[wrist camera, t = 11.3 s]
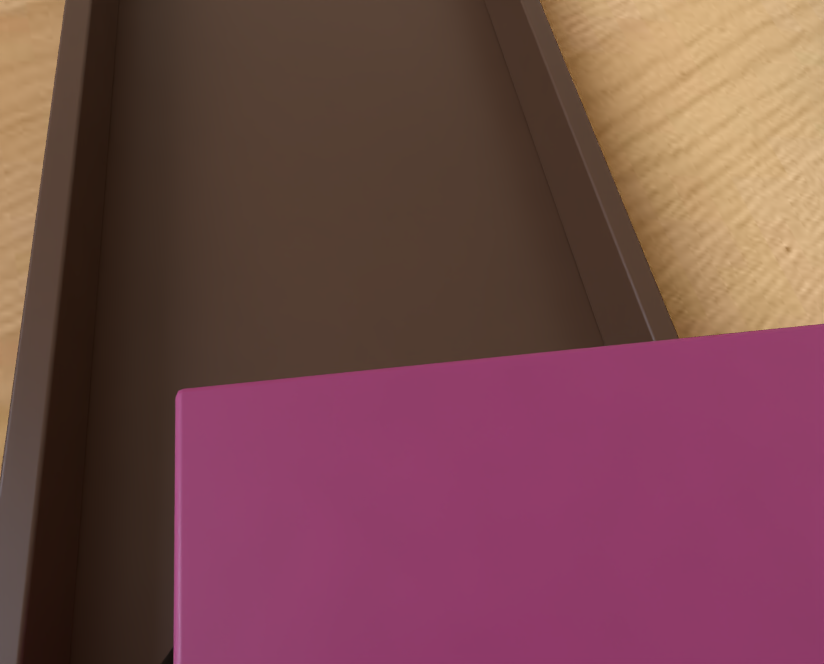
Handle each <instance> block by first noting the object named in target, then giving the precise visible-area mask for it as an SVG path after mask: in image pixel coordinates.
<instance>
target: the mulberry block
mask: <svg viewBox="0 0 824 664" xmlns="http://www.w3.org/2000/svg"><path fill="white" fill-rule="evenodd" d="M173 664H824V324H818V325H808V326H798V327H788V328H778V329H768V330H759V331H749V332H739V333H729V334H719V335H709V336H699V337H690V338H680V339H670V340H660V341H650V342H640V343H630V344H621V345H611V346H601V347H591V348H581V349H571V350H561V351H552V352H542V353H532V354H522V355H512V356H502V357H492V358H483V359H473V360H463V361H453V362H443V363H433V364H423V365H414V366H404V367H394V368H384V369H374V370H364V371H354V372H345V373H335V374H325V375H315V376H305V377H295V378H285V379H276V380H266V381H256V382H246V383H236V384H226V385H216V386H206V387H197V388H187V389H182V390H179V391H178V393H177V395H176V398H175V515H174V649H173Z"/></svg>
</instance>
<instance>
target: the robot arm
mask: <svg viewBox="0 0 824 664" xmlns="http://www.w3.org/2000/svg"><path fill="white" fill-rule="evenodd" d="M173 649H174V646H173V647H172V649H171V650H170V652H169V653H168V655H167V656H166V657H165V659H164V660H163V662H162V663H161V664H173Z"/></svg>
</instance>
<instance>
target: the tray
mask: <svg viewBox="0 0 824 664" xmlns="http://www.w3.org/2000/svg"><path fill="white" fill-rule="evenodd" d="M670 339H679V338H678V335H677V333H676V330H675V328H674V326H673V323H672V321H671V318H670V316H669V313H668V311H667V309H666V306H665V304H664V301H663V299H662V296H661V294H660V292H659V289H658V287H657V284H656V282H655V279H654V277H653V275H652V272H651V270H650V267H649V265H648V262H647V260H646V258H645V255H644V253H643V250H642V248H641V246H640V243H639V241H638V238H637V236H636V233H635V231H634V229H633V226H632V224H631V221H630V219H629V216H628V214H627V212H626V209H625V207H624V204H623V202H622V199H621V197H620V195H619V192H618V190H617V187H616V185H615V182H614V180H613V178H612V175H611V173H610V170H609V168H608V166H607V163H606V161H605V158H604V156H603V153H602V151H601V149H600V146H599V144H598V141H597V139H596V136H595V134H594V132H593V129H592V127H591V124H590V122H589V119H588V117H587V115H586V112H585V110H584V107H583V105H582V102H581V100H580V98H579V95H578V93H577V90H576V88H575V86H574V83H573V81H572V78H571V76H570V73H569V71H568V69H567V66H566V64H565V61H564V59H563V56H562V54H561V52H560V49H559V47H558V44H557V42H556V39H555V37H554V35H553V32H552V30H551V27H550V25H549V22H548V20H547V18H546V15H545V13H544V10H543V8H542V6H541V3H540V1H539V0H66V1H65V8H64V15H63V23H62V30H61V37H60V45H59V52H58V59H57V67H56V74H55V81H54V89H53V96H52V103H51V111H50V118H49V125H48V133H47V140H46V147H45V155H44V162H43V169H42V177H41V184H40V191H39V199H38V206H37V213H36V220H35V228H34V235H33V242H32V250H31V257H30V264H29V272H28V279H27V286H26V294H25V301H24V308H23V316H22V323H21V330H20V338H19V345H18V352H17V360H16V367H15V374H14V382H13V389H12V396H11V404H10V411H9V418H8V426H7V433H6V440H5V448H4V455H3V462H2V470H1V477H0V664H161V663H162V662H163V660H164V659H165V657H166V656H167V655H168V653H169V652H170V650H171V649H172V647H173V646H174V515H175V398H176V395H177V393H178V391H179V390H182V389H187V388H197V387H206V386H216V385H226V384H236V383H246V382H256V381H266V380H276V379H285V378H295V377H305V376H315V375H325V374H335V373H345V372H354V371H364V370H374V369H384V368H394V367H404V366H414V365H423V364H433V363H443V362H453V361H463V360H473V359H483V358H492V357H502V356H512V355H522V354H532V353H542V352H552V351H561V350H571V349H581V348H591V347H601V346H611V345H621V344H630V343H640V342H650V341H660V340H670Z"/></svg>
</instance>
